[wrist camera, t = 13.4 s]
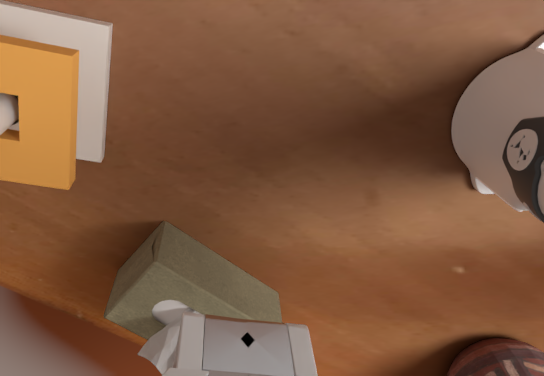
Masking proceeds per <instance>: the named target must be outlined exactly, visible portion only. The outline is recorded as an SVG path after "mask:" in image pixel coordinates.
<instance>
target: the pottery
mask: <svg viewBox="0 0 544 376" xmlns="http://www.w3.org/2000/svg"><path fill="white" fill-rule="evenodd" d="M447 376H544V353H543V352H542V351H540V350H539V349H537V348H536V347H534V346H532V345H530V344H528V343H525V342H521V341H517V340H512V339H505V338H491V339H486V340H481V341H479V342H476V343H474V344H472V345H470V346H469V347H467V348H466V349H464V350H463V351H461V352H460V353H459V354H458V356H457V357H456V358H455V359H454V361H453V363H452V365H451V367H450V369H449V371H448V373H447Z"/></svg>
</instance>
